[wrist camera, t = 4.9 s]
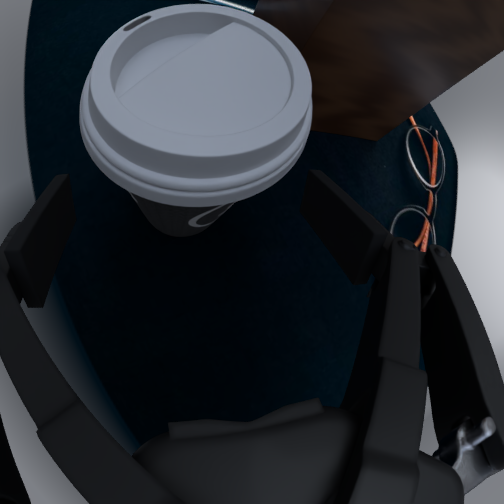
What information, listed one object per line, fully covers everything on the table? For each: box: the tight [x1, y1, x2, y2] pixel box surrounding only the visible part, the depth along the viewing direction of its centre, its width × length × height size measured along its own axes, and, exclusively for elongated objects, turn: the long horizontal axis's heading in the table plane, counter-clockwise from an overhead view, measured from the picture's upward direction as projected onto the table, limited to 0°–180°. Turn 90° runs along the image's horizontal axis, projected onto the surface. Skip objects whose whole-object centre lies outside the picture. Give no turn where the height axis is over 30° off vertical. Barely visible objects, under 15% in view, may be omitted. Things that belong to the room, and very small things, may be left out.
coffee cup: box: [80, 4, 312, 237], centre depth 15 cm, size 10×10×15 cm
